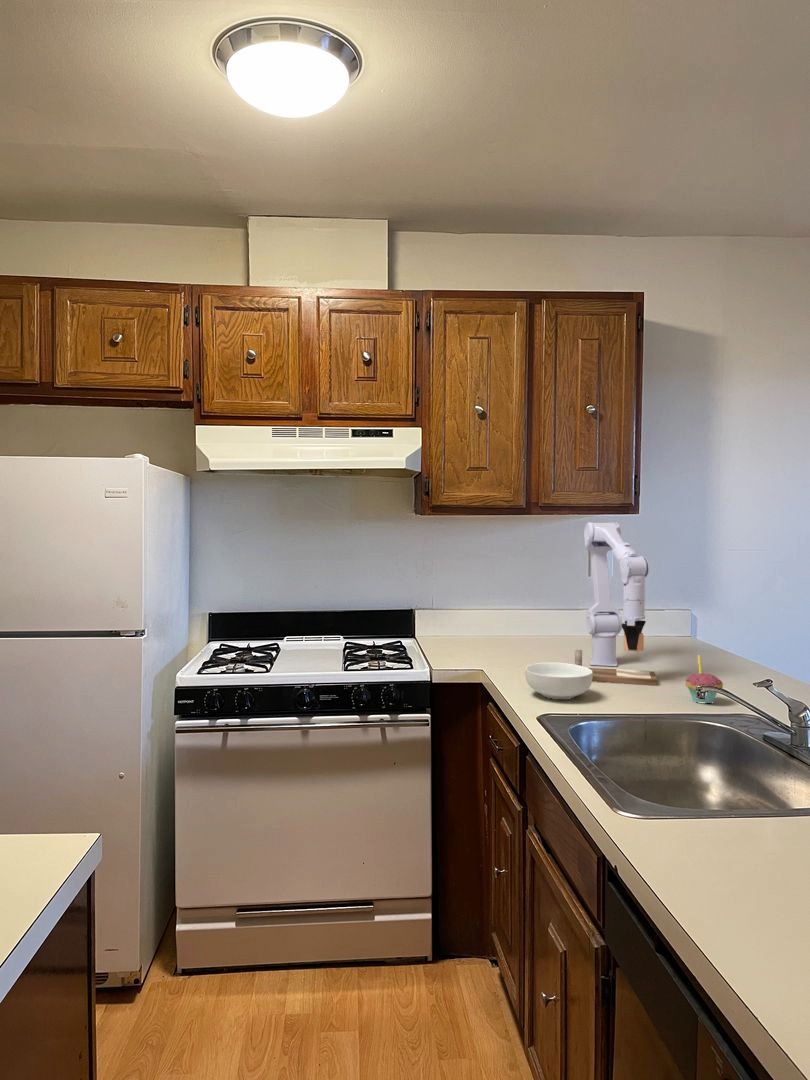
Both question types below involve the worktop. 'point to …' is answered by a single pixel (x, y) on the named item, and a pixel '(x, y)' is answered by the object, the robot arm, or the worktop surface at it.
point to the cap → (639, 647)
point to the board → (619, 674)
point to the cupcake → (703, 684)
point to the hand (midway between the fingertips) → (633, 647)
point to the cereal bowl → (558, 679)
